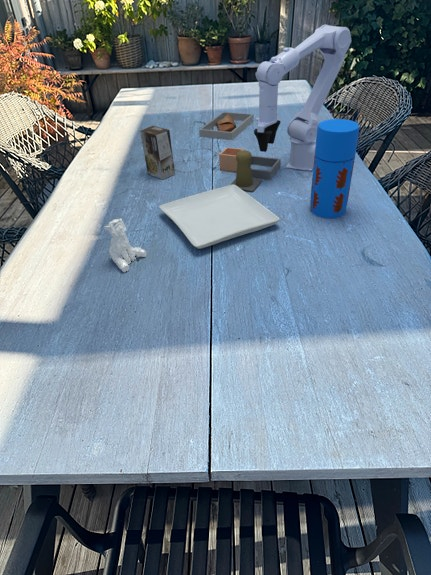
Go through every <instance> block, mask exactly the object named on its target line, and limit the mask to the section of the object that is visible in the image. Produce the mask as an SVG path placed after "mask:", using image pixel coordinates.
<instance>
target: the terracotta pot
mask: <svg viewBox="0 0 431 575" xmlns="http://www.w3.org/2000/svg"><path fill="white" fill-rule="evenodd" d="M242 150H245V148H238V147H237V148H236V147H228V146H227V147H225V148H224V149H223V150H222V151H220V153H219V154H218V161H219V162H218V163H219V164H218V165H219V171H224V172H232V173H237V164H238V162H237V160H236V154H237V152H239V151H242Z"/></svg>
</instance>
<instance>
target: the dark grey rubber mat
mask: <svg viewBox="0 0 431 575" xmlns="http://www.w3.org/2000/svg"><path fill="white" fill-rule="evenodd" d="M252 179H253V184H252V185H251V186H248V187H239V186H237V185H236V184H235V183H236V178H235V179H234V180H233V181H232V182H231V183H230V184H229V185H236V186H237V187H239V188H240V189H242V190H243V191H244V192H246V193H247V192H248V193H254V192H255V191H256V189H257V188H258V187H259V186H260V184H261V183H262V182H263V179H260V178H252Z"/></svg>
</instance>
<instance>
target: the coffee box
mask: <svg viewBox="0 0 431 575" xmlns="http://www.w3.org/2000/svg"><path fill="white" fill-rule="evenodd" d="M139 133H140V138H141V145H142V149H143V155H144V160H145V161H144V162H145V166H146V172H147V174H148V173H149V174H151V175H150V176H152V175H153V176H152V177H155V178H157V179H158V178H159V179H161V180H165V179H167V178H170V177H171V176H175V175H176V171H175V162H174V156H173V148H172V147H173V146H172V140H171V132H170V129H168V128H164V127H159V126H156V125H151V126H148V127H146V128H144V129H142V130H139ZM149 174H148V175H149Z"/></svg>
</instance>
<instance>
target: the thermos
mask: <svg viewBox="0 0 431 575" xmlns="http://www.w3.org/2000/svg"><path fill="white" fill-rule="evenodd" d="M319 122H320V121H319ZM359 131H360V125H359V123H357V122H356V121H354V120H350V119H345V118H332V119H326V120H323V121H321V122H320V123H319V124H318V129H317V136H316V138H315V142H316V146H315V156H314V167H313V170H312V179H311V188H310V200H309V201H310V204H309V206H310V208H309V210H310V212H311V213H312V214H313V215H315V216H316V217H319V218H323V219H336V218H339V217H342V216H343V215H345V213H346V210H347V208H348V207H347V206H348V201H349V196H350V190H351V185H352V178H353V172H354V164H355V159H356V153H357V146H358V142H359V141H358V140H359V135H360V132H359Z"/></svg>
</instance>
